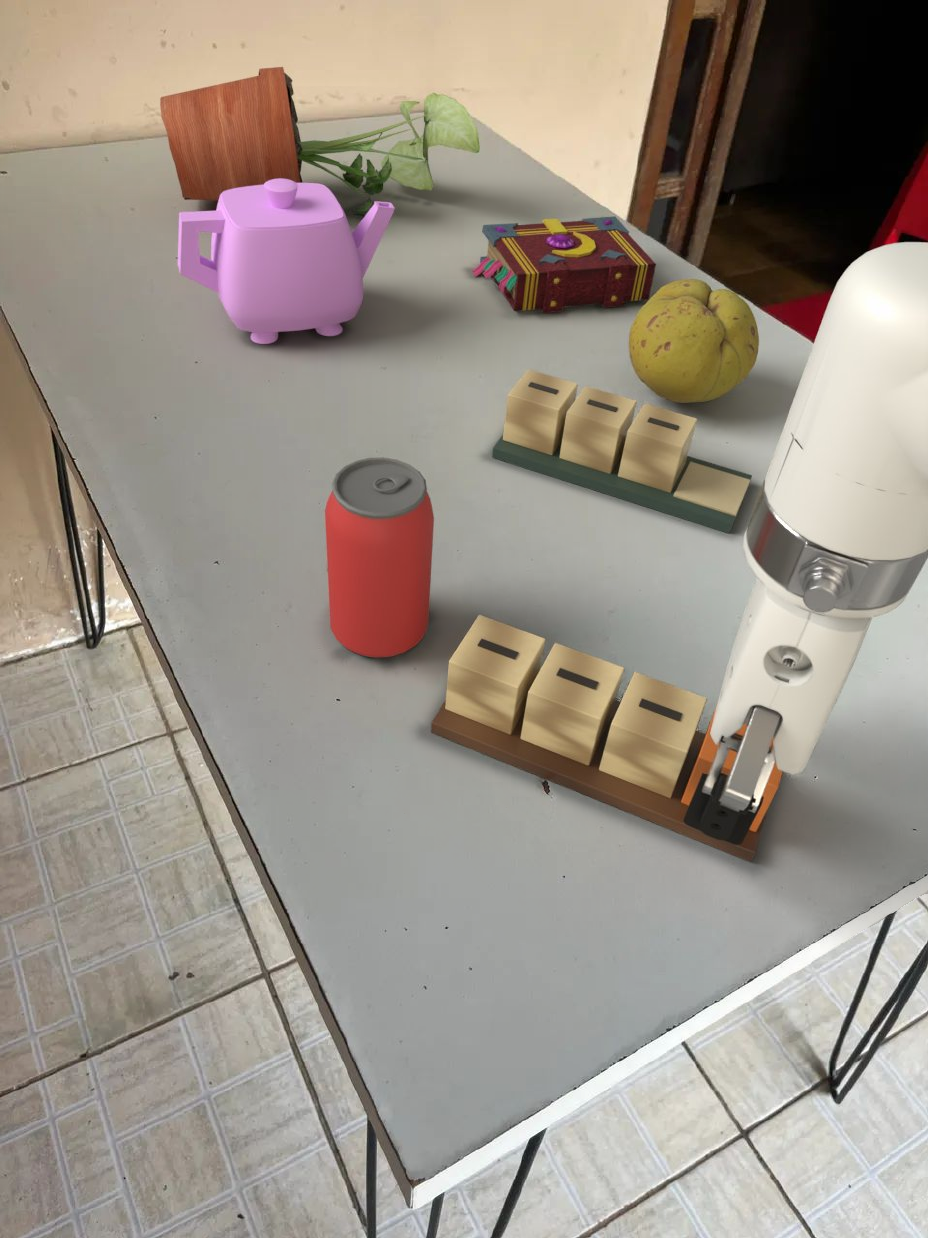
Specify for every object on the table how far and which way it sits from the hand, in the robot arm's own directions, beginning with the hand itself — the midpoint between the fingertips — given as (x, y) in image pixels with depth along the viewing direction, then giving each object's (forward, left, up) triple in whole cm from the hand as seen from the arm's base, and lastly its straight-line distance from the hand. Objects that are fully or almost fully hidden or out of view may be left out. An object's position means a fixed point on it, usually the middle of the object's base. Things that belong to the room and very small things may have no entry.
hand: (733, 765), depth 55 cm
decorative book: (+31, -56, -3) cm, 64 cm away
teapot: (+51, -36, -3) cm, 63 cm away
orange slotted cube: (0, 0, -2) cm, 2 cm away
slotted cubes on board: (+7, 0, -3) cm, 8 cm away
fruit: (+14, -42, -3) cm, 45 cm away
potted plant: (+61, -61, -3) cm, 87 cm away
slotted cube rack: (+15, -28, -3) cm, 32 cm away
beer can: (+24, -3, -3) cm, 25 cm away
